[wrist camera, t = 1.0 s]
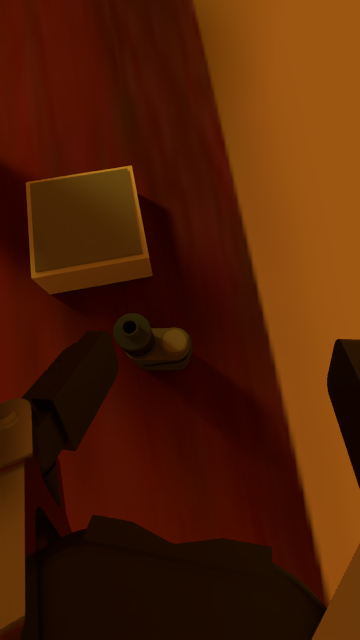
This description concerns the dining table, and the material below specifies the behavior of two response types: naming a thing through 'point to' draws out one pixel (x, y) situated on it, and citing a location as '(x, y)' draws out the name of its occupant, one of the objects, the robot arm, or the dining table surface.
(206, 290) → the dining table surface
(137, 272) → the riser
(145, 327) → the vaping device
